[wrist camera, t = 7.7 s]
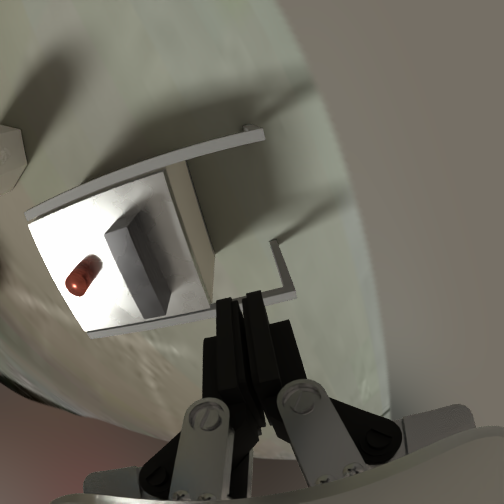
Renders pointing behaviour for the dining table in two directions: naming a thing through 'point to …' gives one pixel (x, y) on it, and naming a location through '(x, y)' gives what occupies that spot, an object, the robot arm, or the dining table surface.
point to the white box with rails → (190, 217)
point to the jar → (11, 158)
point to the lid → (122, 255)
